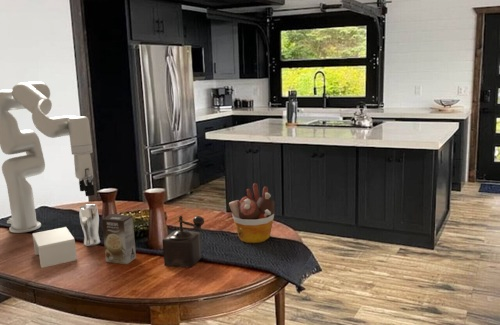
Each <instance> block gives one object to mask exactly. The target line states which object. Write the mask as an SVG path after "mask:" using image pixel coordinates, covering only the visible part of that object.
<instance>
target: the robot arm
mask: <svg viewBox="0 0 500 325" xmlns="http://www.w3.org/2000/svg"><path fill="white" fill-rule="evenodd" d="M50 98H51V90H50V88H49V86H48V85H47V84H46V83H45V82H42V81H28V82H25V81H24V82H19V83H17V84H15V85H14V86H13V87H12V89H1V90H0V149H1V151H2V153H4V155H17V154H21V153H25V155H20V156H16V157H10V158H8V159H6V160H4V162H3V163H2V165H1V171H2V175H3V178H4V180H5V183H6V188H7V194H8V200H9V207H10V214H11V217H9V218H8V220H6V224H10V227H9V228H8V229H9V232H10V233H13V234H14V233H15V234H22V233H28V232H33V231H36V230H38V229H40V228H41V227H42V223H41V222H40V221H38V220H37V214H36V206H35V200H34V192H33V186H32V185H31V184H30V182H29V181H28V180H27V178H30V177H34V176H38V175H41V174H43V173H44V172H45V170H46V169H45V168H46V162H45V158H44V153H43V148H42V144H41V140H40V138H39V136H38V134H37V132H35V131H34V130H32V129H23V130H22V129H20V128H19V123H18V121H17V118H16V117H15V116H14V115H13V114H12V113H11V112H10V111H15V110H24V109H26V110H27V111H28V112H30V113H31V120H32V122H33V125H34V126H35V129H37V130H38V131H39V133H41V134H43V135H44V136H45V137H47V138H50V139H51V138H52V139H56V138H59V137H60V138H61V137H67V136H68V137H69V142H70V150H71V155H73V162H74V163H73V165H74V175H75V178H76V179H77V180H78V185H79V191H80V192H84V193H85V194H84V195H85V197H91V196H95V187H94V186H95V185H94V181H93V178H94V169H93V164H92V163H93V162H92V156H91V154H92V153H93V143H92V134H91V128H90V127H91V126H90V120H89V117H88V116H85V115H83V116H81V115H80V116H76V115H69V114H68V115H62V116H54V117H49V116H47V115H48V114H49V113H50V111H51V109H52V107H53V103H52V100H50Z"/></svg>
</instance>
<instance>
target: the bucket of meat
mask: <svg viewBox="0 0 500 325" xmlns="http://www.w3.org/2000/svg"><path fill="white" fill-rule="evenodd" d="M252 190H253V193H252ZM252 190H251V189H250V188H247V189H246V195H247V196H243V197H242V198H241V199H240V200H239V199H236V200H233V201H230V202H229V203H228V205H229V208H230V210H231V216H232V219H233V222H234V225H235V229H236V232H237V235H238V238H239V239H240V241H241V242H243V243H247V244H260V243H263V242H265V241H266V240H268V239H270V237H271V232H272V226H273V222H274V217H275V201H274V200H273V199H270V198H271V196H272V194H270V193H269V188H268V186H263V188H262V196H260V191H259V186H258V183H257V182H255V183H253V184H252Z"/></svg>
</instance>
